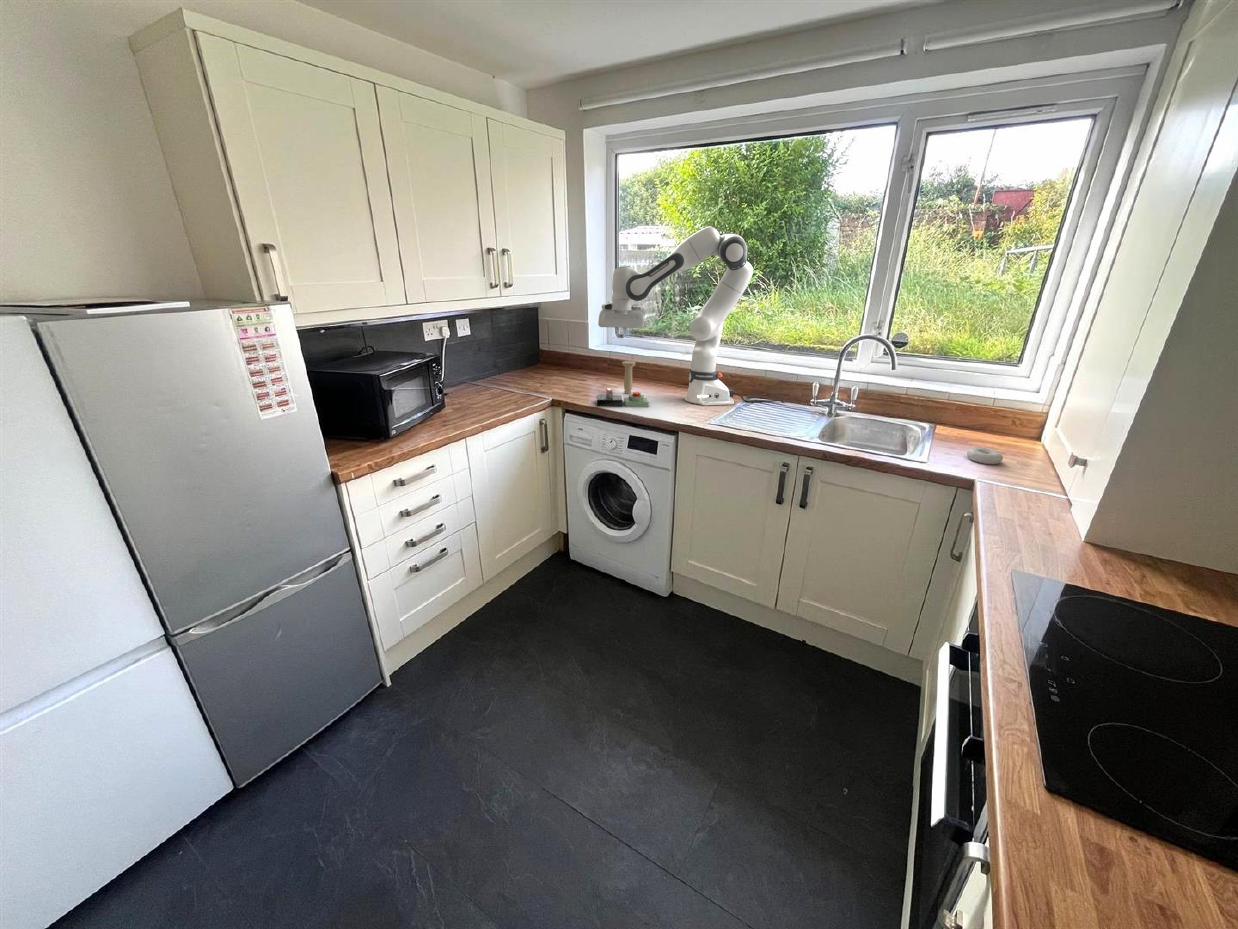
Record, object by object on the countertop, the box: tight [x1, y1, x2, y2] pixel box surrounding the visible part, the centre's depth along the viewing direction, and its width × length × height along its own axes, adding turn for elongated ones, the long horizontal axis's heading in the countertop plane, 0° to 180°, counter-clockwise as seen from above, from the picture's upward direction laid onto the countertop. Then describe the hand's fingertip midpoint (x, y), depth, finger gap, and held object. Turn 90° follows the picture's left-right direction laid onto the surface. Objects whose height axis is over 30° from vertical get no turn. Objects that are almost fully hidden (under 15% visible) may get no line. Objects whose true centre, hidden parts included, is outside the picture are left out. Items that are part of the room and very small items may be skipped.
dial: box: [605, 387, 614, 399], centre depth 219 cm, size 6×2×4 cm, turn 13°
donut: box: [966, 447, 1004, 465], centre depth 167 cm, size 10×4×10 cm
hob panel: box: [596, 394, 623, 408], centre depth 220 cm, size 11×10×3 cm
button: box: [631, 391, 642, 397], centre depth 220 cm, size 4×4×2 cm
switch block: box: [623, 393, 649, 408], centre depth 221 cm, size 10×8×4 cm
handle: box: [621, 360, 637, 395], centre depth 238 cm, size 5×6×15 cm
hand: (620, 338), depth 223 cm, fingers closed
